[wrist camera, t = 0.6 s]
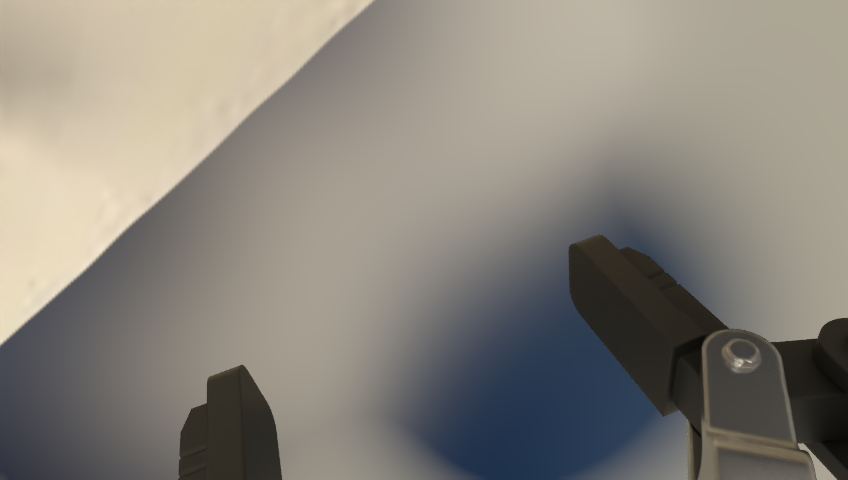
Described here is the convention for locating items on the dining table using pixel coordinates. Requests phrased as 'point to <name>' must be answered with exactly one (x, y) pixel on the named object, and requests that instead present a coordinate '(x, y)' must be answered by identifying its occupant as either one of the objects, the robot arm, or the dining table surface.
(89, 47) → the dining table surface
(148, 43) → the dining table surface
